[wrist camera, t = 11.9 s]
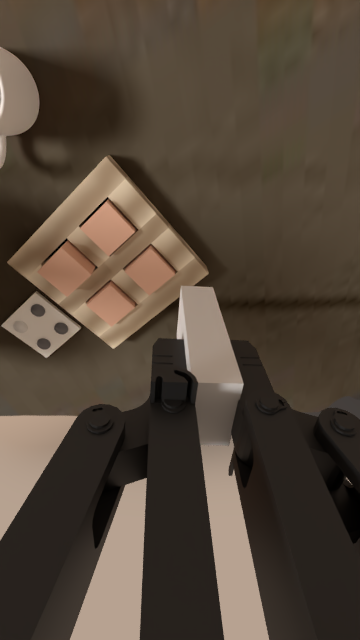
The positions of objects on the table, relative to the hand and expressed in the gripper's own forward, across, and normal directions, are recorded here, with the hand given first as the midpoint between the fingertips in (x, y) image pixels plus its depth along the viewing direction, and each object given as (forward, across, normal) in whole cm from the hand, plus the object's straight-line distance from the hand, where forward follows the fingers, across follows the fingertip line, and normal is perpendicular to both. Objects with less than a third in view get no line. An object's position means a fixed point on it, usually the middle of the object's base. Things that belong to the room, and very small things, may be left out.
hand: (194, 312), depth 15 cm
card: (+32, -20, -22) cm, 44 cm away
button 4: (+32, -3, -10) cm, 34 cm away
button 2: (+32, -8, -16) cm, 37 cm away
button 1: (+30, -14, -10) cm, 35 cm away
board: (+32, -8, -10) cm, 35 cm away
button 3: (+32, -9, -4) cm, 33 cm away
